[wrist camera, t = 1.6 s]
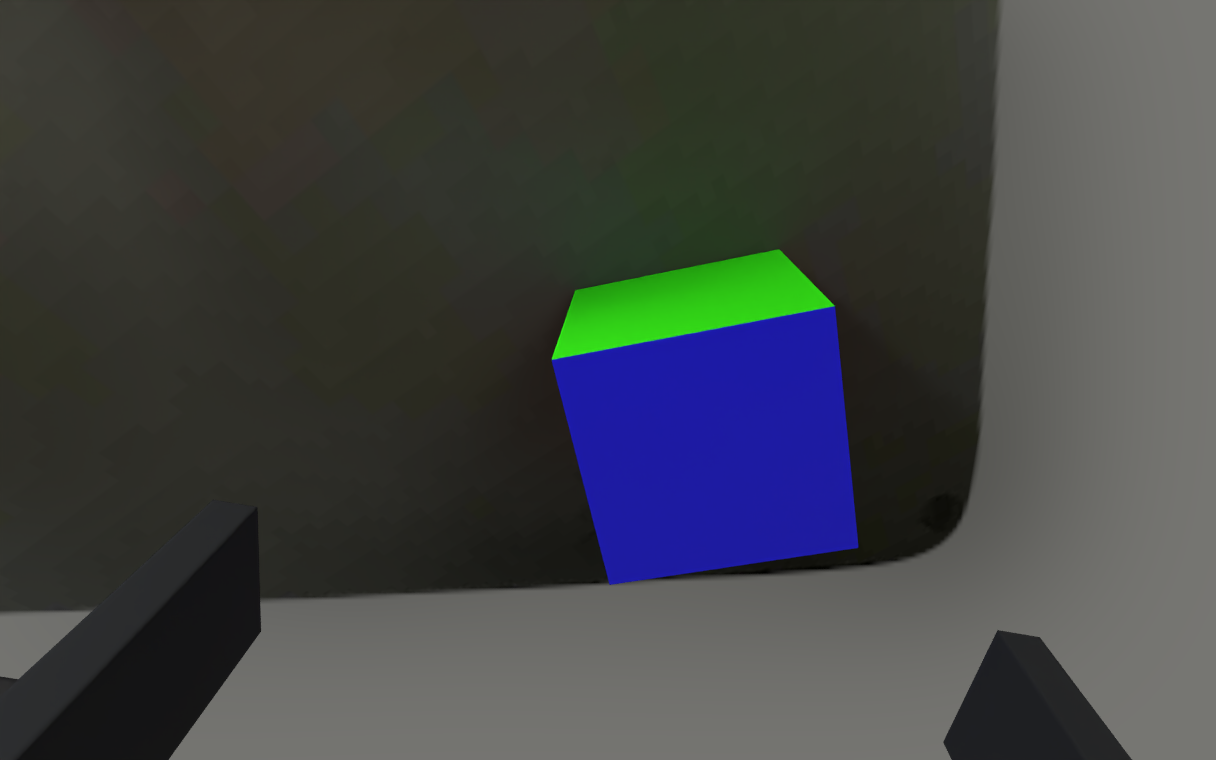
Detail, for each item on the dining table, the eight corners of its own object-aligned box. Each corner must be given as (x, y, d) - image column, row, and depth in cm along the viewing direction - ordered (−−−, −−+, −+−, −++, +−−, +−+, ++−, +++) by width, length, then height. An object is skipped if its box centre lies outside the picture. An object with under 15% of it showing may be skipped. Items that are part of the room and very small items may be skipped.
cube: (802, 434, 29) (858, 547, 22) (616, 466, 30) (609, 584, 22) (779, 249, 26) (835, 306, 19) (575, 290, 27) (551, 359, 20)
